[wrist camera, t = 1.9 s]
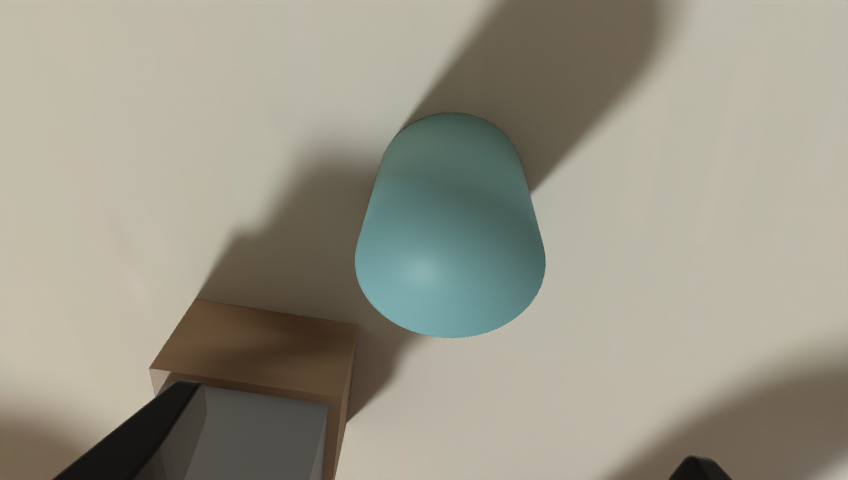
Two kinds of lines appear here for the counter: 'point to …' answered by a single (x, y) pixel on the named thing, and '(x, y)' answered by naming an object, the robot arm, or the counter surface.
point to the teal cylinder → (450, 230)
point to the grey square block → (258, 437)
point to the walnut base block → (265, 359)
